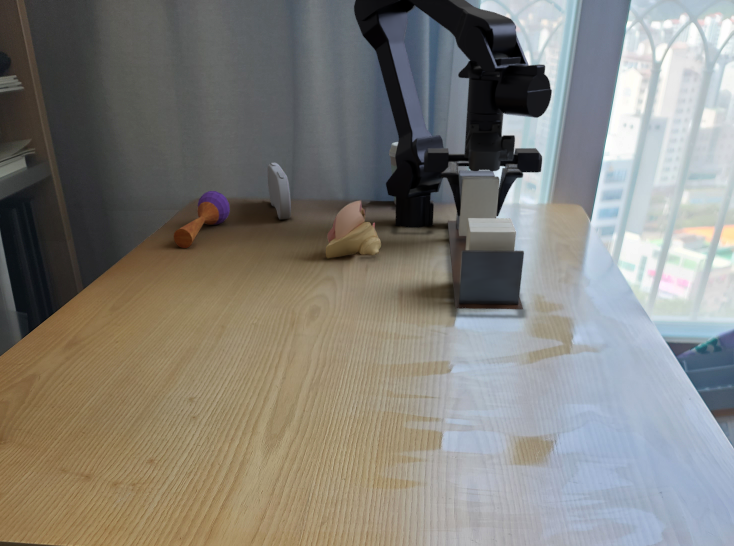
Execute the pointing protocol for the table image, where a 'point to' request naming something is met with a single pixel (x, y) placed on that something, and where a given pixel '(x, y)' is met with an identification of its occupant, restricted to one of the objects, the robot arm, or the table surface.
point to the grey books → (471, 174)
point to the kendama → (203, 217)
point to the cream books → (490, 234)
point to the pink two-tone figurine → (352, 233)
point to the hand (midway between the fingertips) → (477, 215)
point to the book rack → (484, 275)
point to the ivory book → (478, 199)
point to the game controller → (279, 191)
